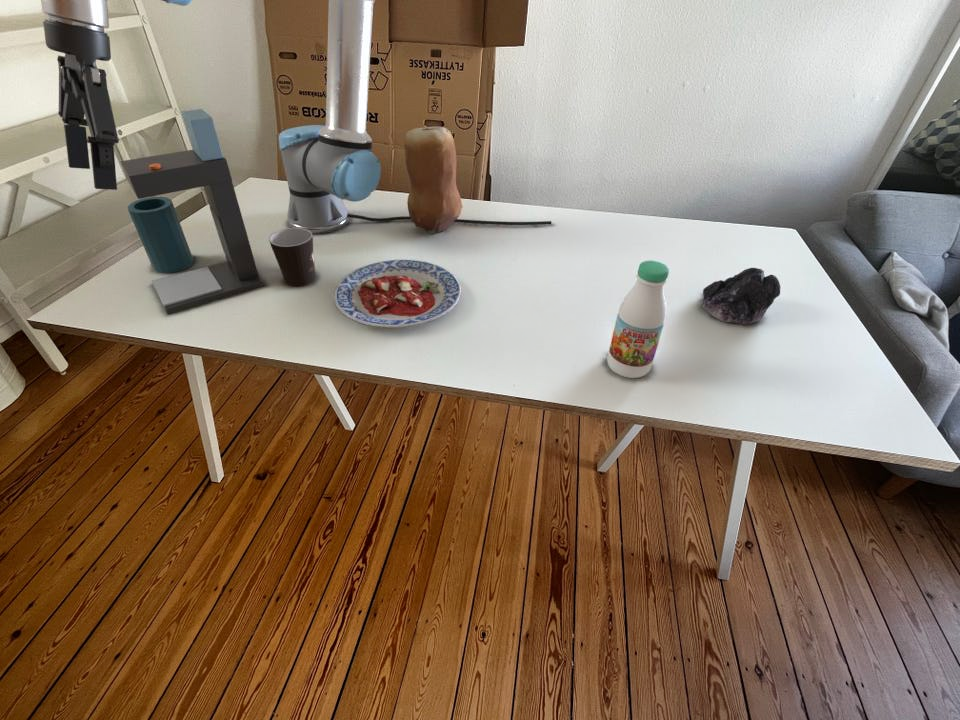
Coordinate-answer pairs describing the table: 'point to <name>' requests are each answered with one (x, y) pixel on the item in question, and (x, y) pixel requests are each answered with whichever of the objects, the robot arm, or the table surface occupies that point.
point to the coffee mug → (294, 255)
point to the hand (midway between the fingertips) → (92, 178)
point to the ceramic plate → (397, 293)
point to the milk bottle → (639, 322)
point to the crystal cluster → (741, 296)
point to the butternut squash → (432, 178)
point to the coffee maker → (213, 175)
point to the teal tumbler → (161, 234)
